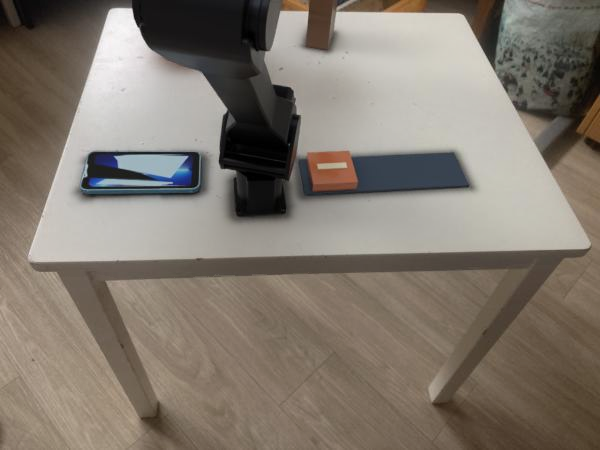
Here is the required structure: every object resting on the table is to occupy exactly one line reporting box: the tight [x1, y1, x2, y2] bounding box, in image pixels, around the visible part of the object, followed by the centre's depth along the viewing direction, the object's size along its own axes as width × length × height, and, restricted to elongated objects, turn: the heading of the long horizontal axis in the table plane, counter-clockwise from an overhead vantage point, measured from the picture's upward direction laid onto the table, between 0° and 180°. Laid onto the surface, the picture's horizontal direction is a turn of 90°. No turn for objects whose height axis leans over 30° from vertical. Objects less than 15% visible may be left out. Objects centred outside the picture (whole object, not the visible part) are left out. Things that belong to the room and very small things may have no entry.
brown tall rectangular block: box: [305, 0, 339, 51], centre depth 84 cm, size 6×4×12 cm, turn 167°
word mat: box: [298, 151, 470, 197], centre depth 68 cm, size 23×7×1 cm, turn 98°
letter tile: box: [305, 150, 358, 192], centre depth 66 cm, size 6×6×2 cm
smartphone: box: [79, 150, 203, 195], centre depth 64 cm, size 7×1×15 cm
